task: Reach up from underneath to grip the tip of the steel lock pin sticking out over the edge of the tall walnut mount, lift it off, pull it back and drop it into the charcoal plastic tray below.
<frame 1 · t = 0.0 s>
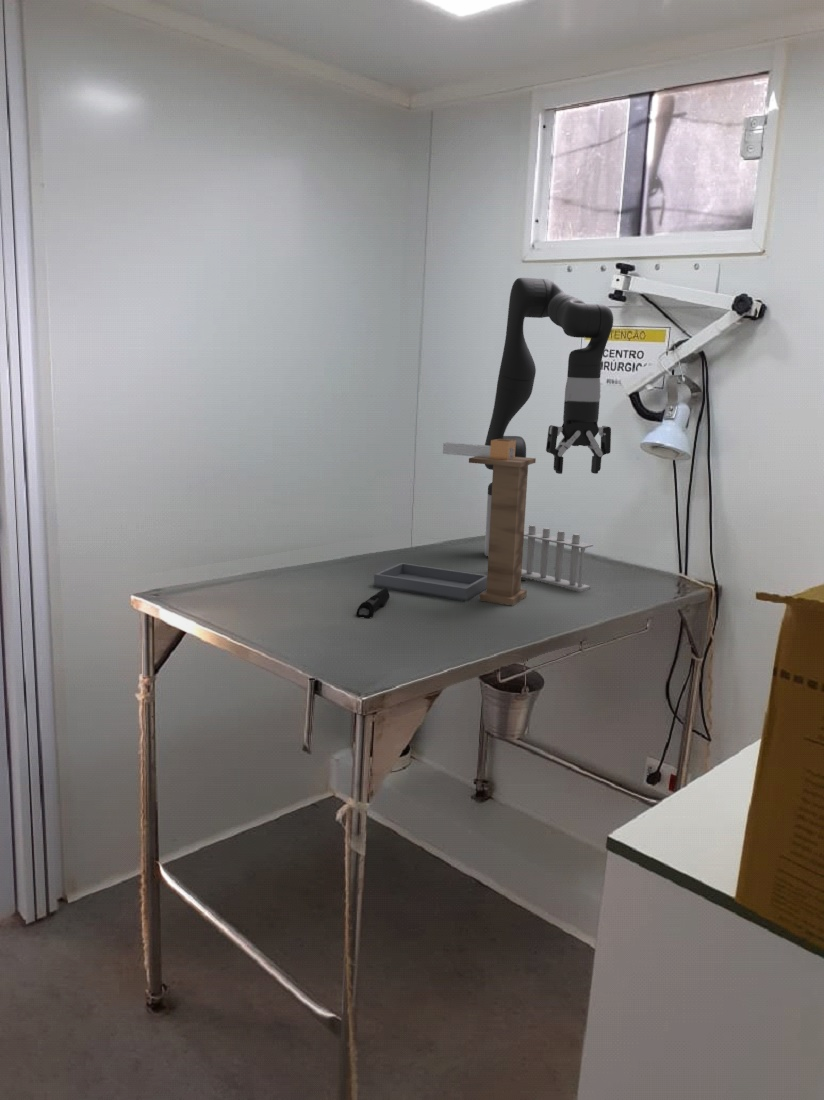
hand: (576, 473, 191), 29 cm above the table, tool pointing down, fingers open, 8 cm apart
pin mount: (495, 597, 198), on the table
test tube rack: (543, 580, 216), on the table
lock pin: (477, 456, 194), point 32 cm above the table, touching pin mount
parts tray: (431, 587, 205), on the table
electric trimmer: (373, 610, 187), on the table
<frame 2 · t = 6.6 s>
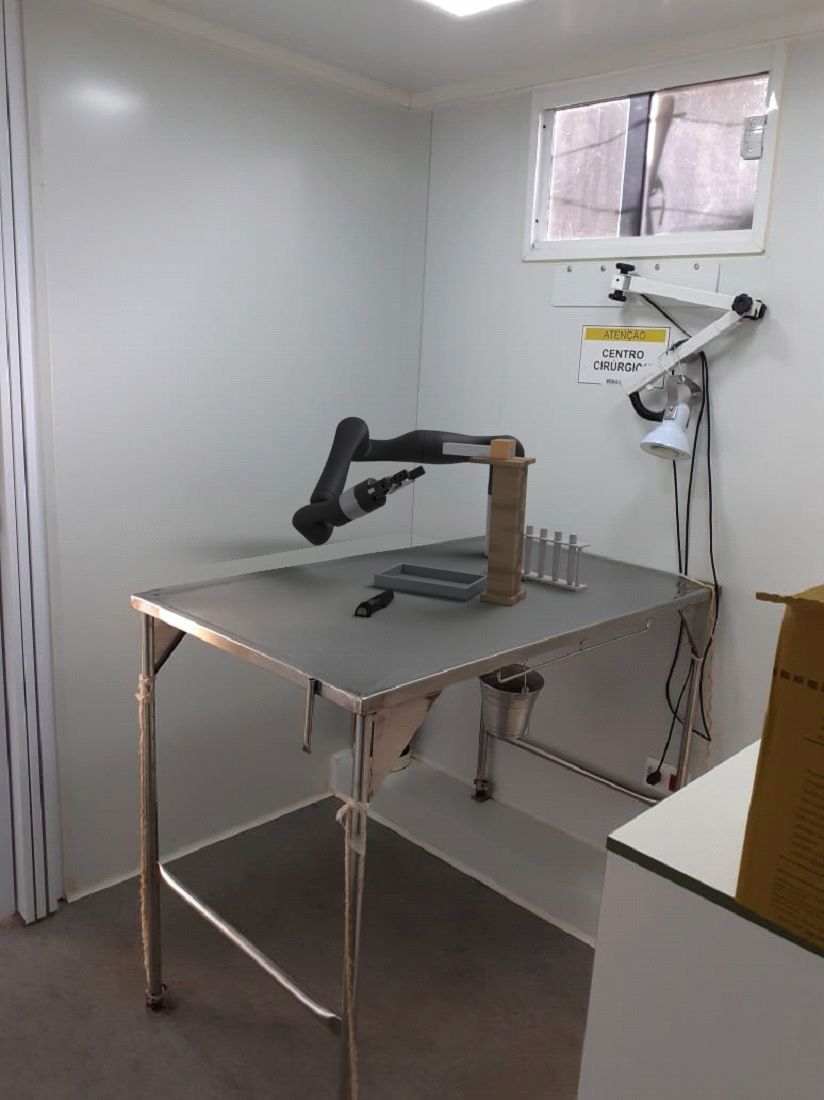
hand: (415, 471, 202), 27 cm above the table, tool pointing upward, fingers open, 8 cm apart
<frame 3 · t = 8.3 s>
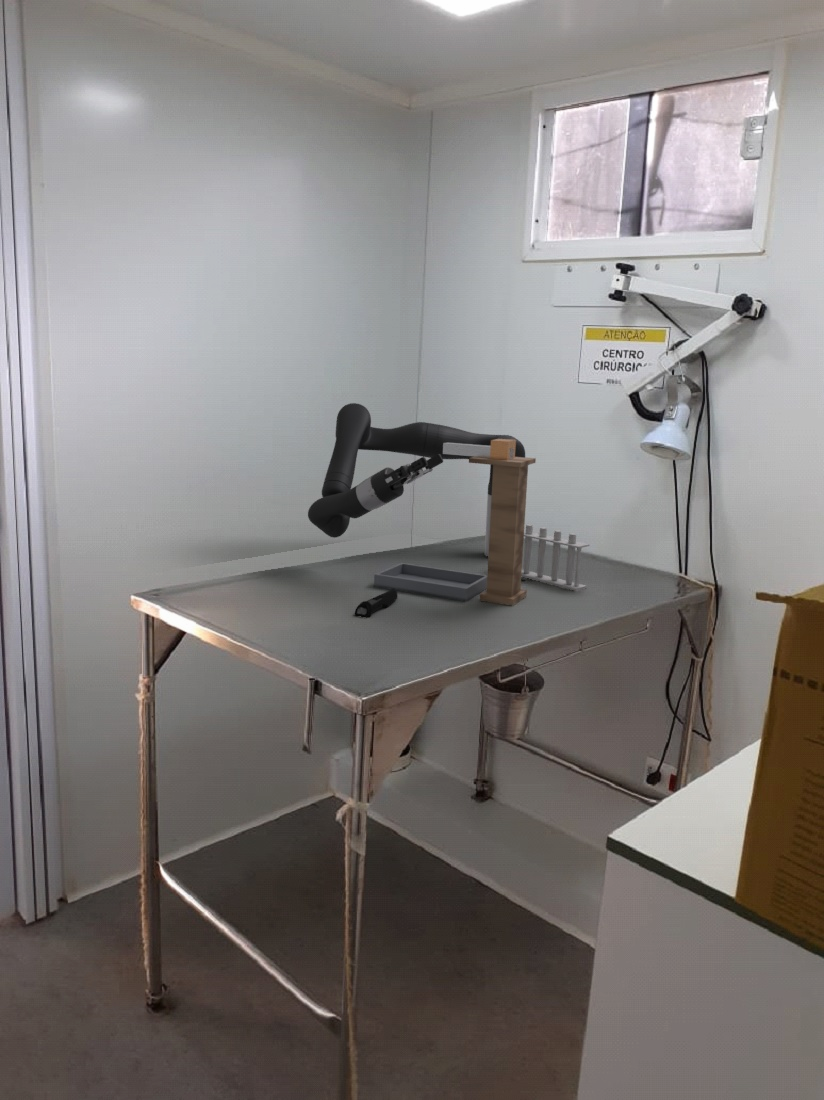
hand: (433, 459, 199), 30 cm above the table, tool pointing upward, fingers open, 8 cm apart
nothing on the table moved.
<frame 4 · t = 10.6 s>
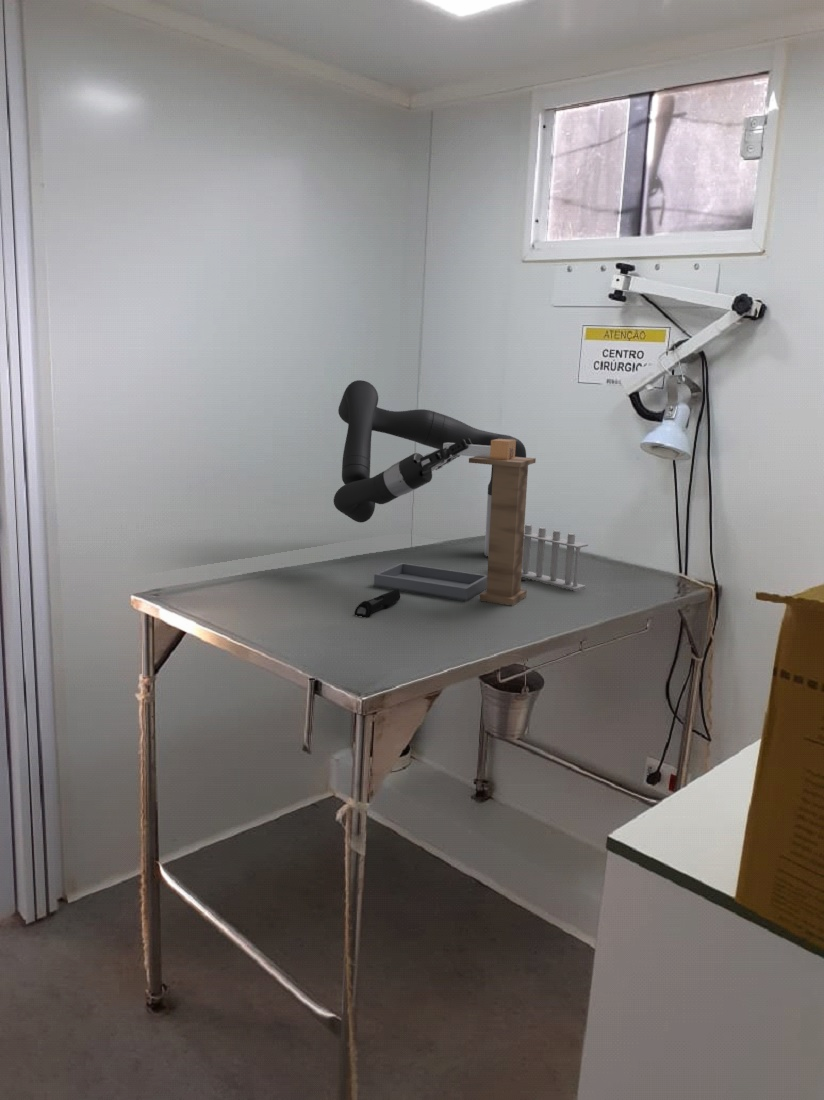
hand: (467, 443, 194), 35 cm above the table, tool pointing upward, fingers closed on lock pin, 2 cm apart
lock pin: (477, 456, 194), point 32 cm above the table, touching gripper, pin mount
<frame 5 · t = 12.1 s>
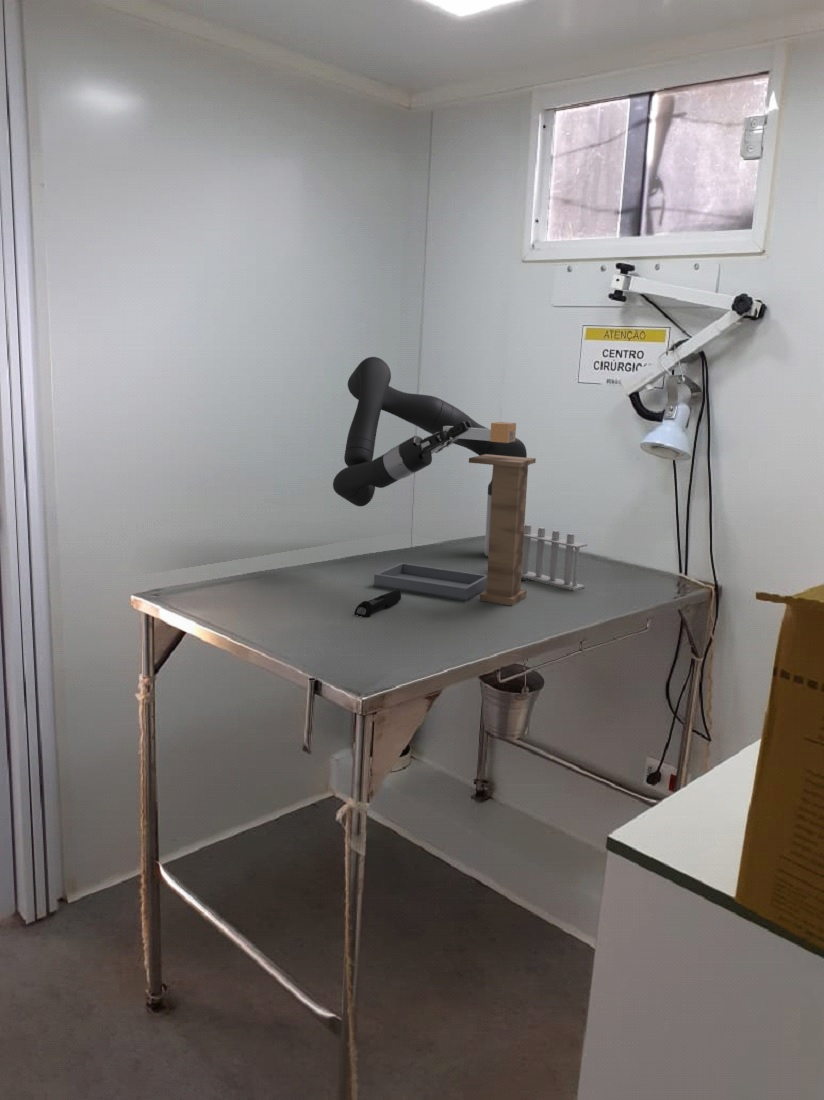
hand: (467, 425, 194), 39 cm above the table, tool pointing upward, fingers closed on lock pin, 2 cm apart
lock pin: (477, 439, 193), point 36 cm above the table, touching gripper
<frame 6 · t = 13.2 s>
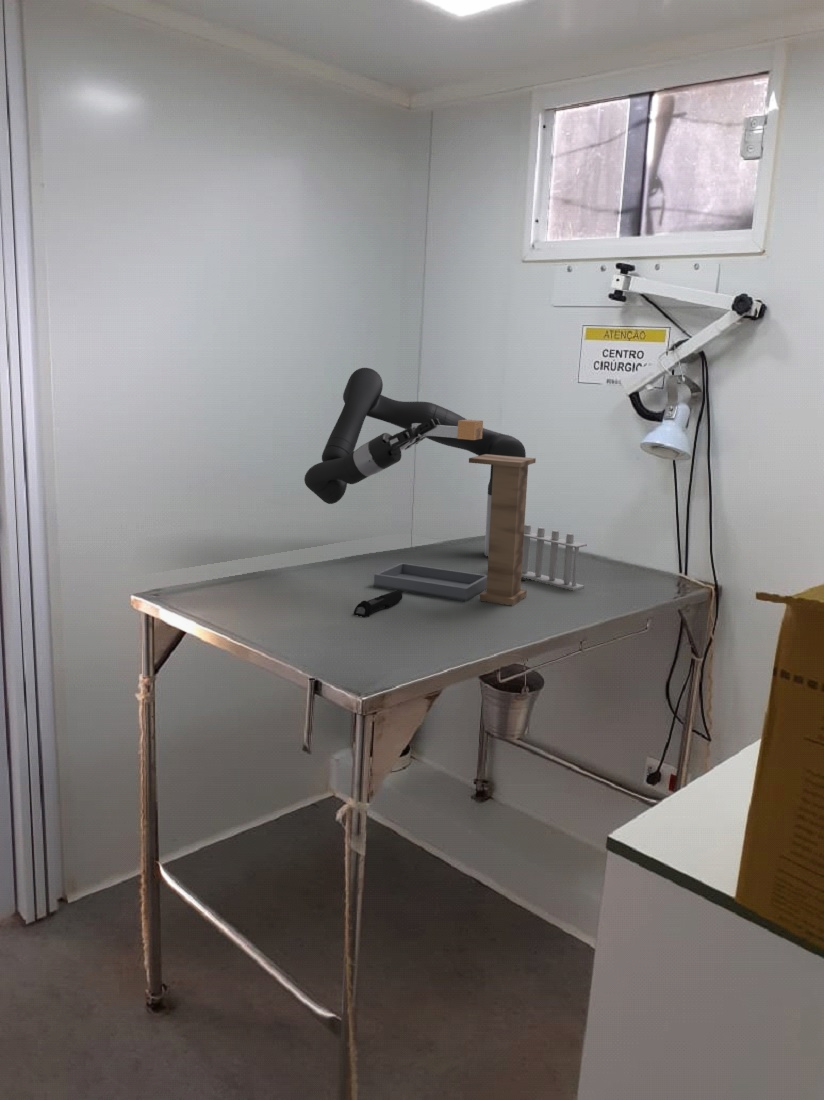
hand: (435, 422, 197), 39 cm above the table, tool pointing upward, fingers closed on lock pin, 2 cm apart
lock pin: (445, 436, 197), point 36 cm above the table, touching gripper
when the fingers open (26 cm above the table, at t = 15.9 s): lock pin drops 22 cm, resting on parts tray.
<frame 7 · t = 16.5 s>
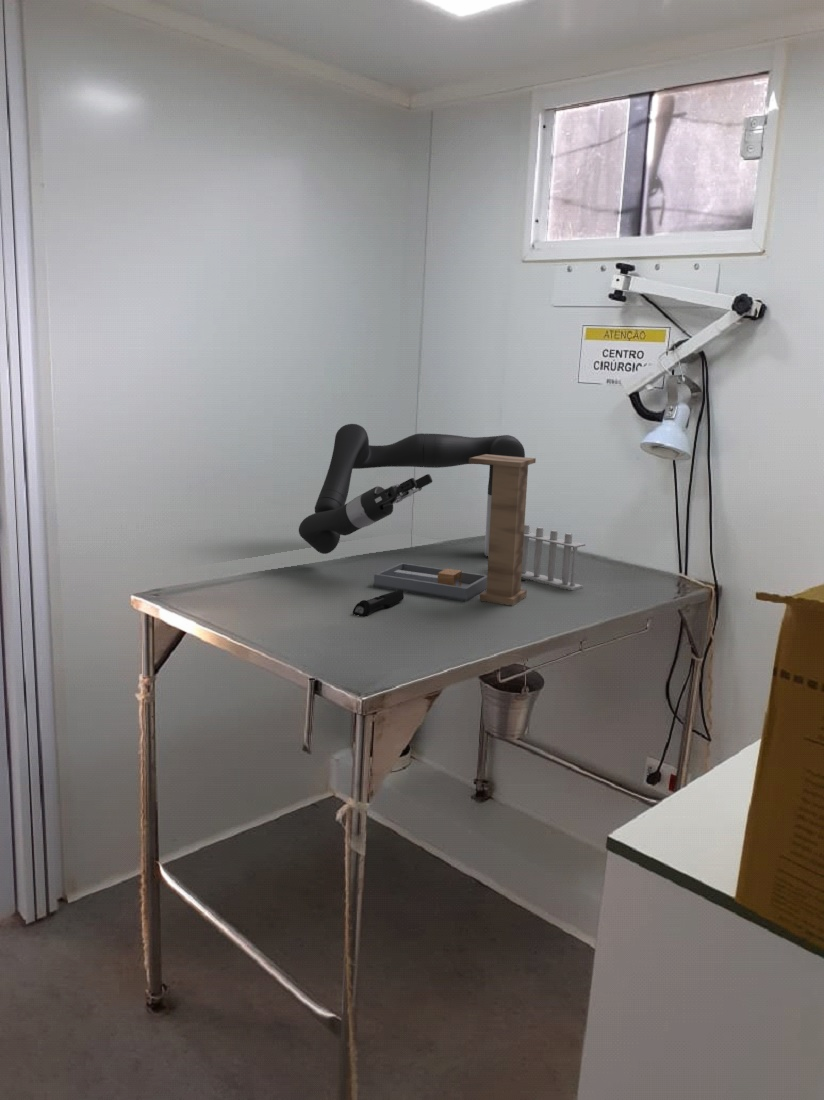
hand: (422, 479, 201), 25 cm above the table, tool pointing upward, fingers open, 8 cm apart
lock pin: (425, 584, 205), point 1 cm above the table, touching parts tray
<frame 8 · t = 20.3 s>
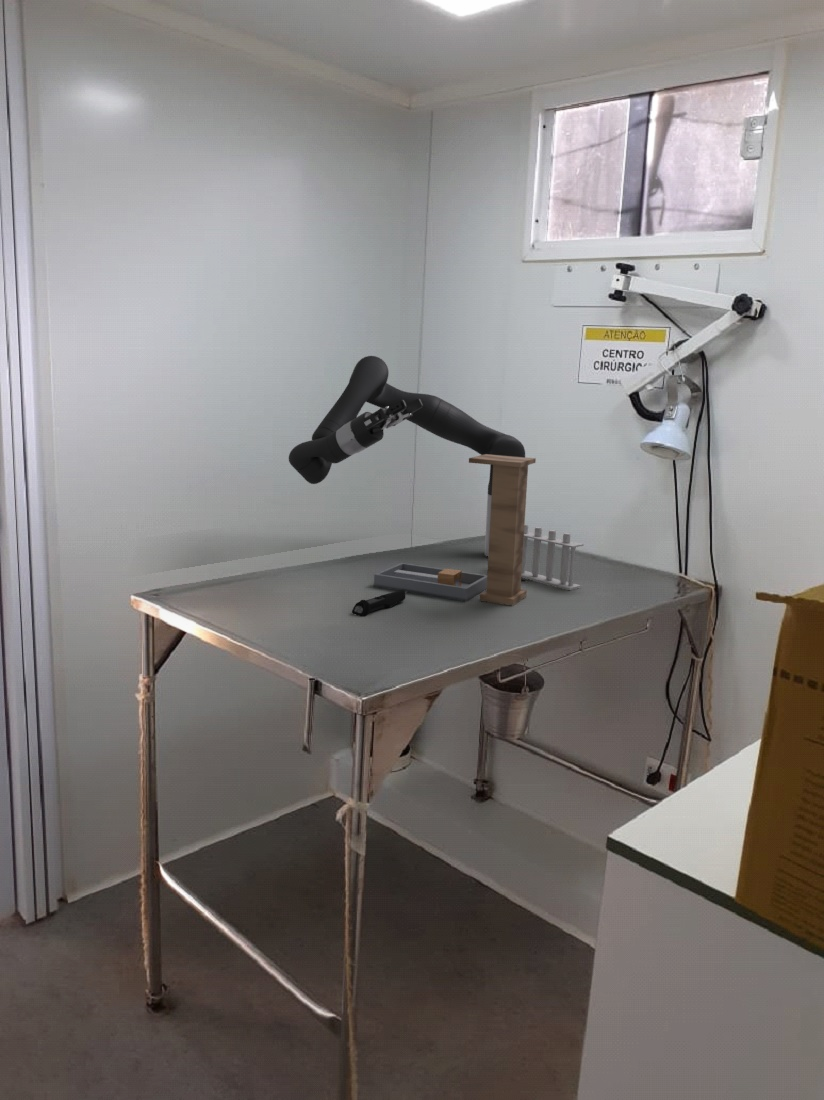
hand: (413, 402, 199), 43 cm above the table, tool pointing upward, fingers open, 8 cm apart
at the end: lock pin inside the target area (1.3 cm from its centre), point 0.6 cm above the table; lock pin touching parts tray; the gripper is holding nothing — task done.
